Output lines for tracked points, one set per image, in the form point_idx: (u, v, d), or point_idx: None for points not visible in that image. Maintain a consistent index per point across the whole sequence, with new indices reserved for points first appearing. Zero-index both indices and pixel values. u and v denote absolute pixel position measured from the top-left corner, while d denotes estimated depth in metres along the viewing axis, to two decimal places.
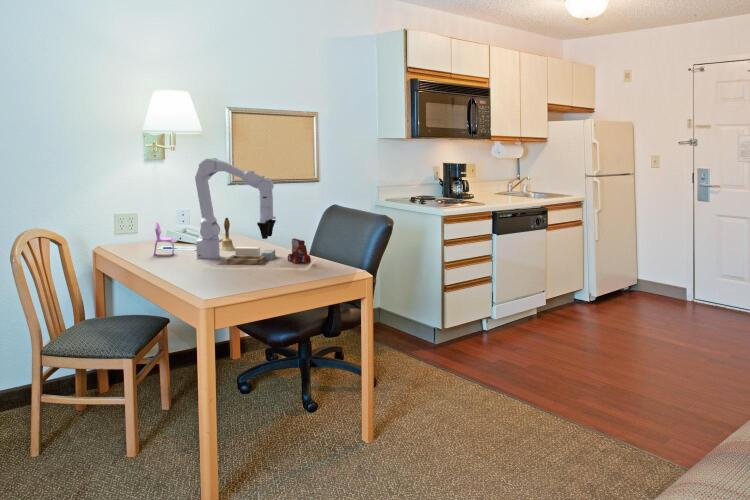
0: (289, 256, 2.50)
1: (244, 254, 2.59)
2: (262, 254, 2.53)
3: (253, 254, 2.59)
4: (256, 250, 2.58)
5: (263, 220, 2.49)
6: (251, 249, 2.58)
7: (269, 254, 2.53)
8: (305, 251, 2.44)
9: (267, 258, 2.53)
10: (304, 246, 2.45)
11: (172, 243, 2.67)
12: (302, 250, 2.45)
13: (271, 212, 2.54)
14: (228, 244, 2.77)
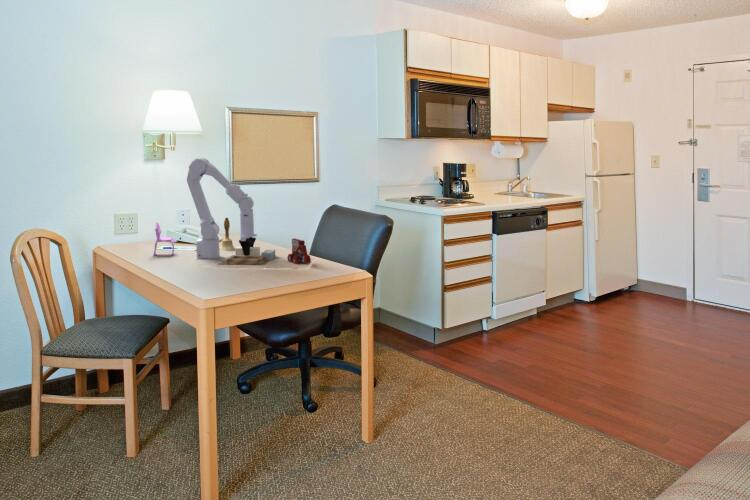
0: (289, 256, 2.50)
1: None
2: (262, 254, 2.53)
3: (253, 254, 2.59)
4: (256, 250, 2.58)
5: (243, 238, 2.52)
6: (251, 249, 2.58)
7: (269, 254, 2.53)
8: (305, 251, 2.44)
9: (267, 258, 2.53)
10: (304, 246, 2.45)
11: (172, 243, 2.67)
12: (302, 250, 2.45)
13: (252, 230, 2.58)
14: (228, 244, 2.77)
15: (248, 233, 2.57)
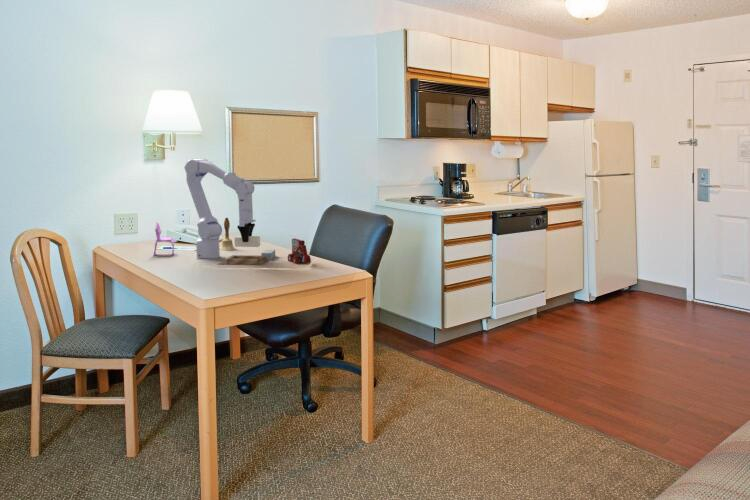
0: (289, 256, 2.50)
1: (244, 243, 2.50)
2: (262, 254, 2.53)
3: (253, 243, 2.50)
4: (256, 239, 2.50)
5: (242, 223, 2.43)
6: (251, 238, 2.50)
7: (269, 254, 2.53)
8: (305, 251, 2.44)
9: (267, 258, 2.53)
10: (304, 246, 2.45)
11: (172, 243, 2.67)
12: (302, 250, 2.45)
13: (251, 215, 2.49)
14: (228, 244, 2.77)
15: (247, 218, 2.48)
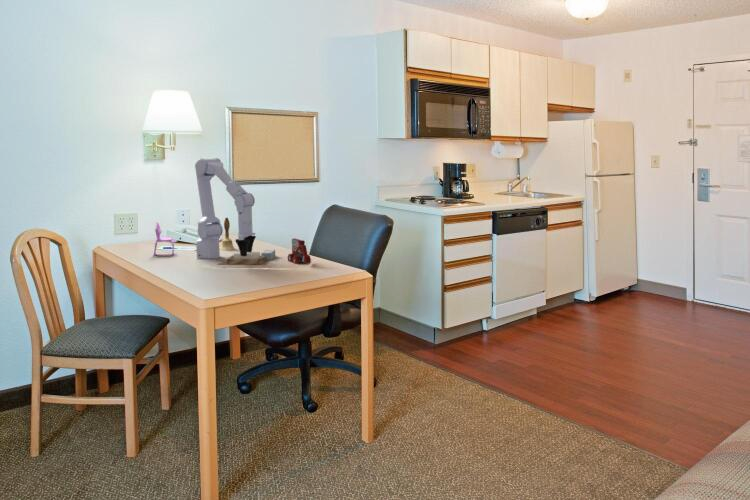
0: (289, 256, 2.50)
1: None
2: (262, 254, 2.53)
3: None
4: (256, 255, 2.45)
5: (241, 237, 2.39)
6: (250, 254, 2.45)
7: (269, 254, 2.53)
8: (305, 251, 2.44)
9: (267, 258, 2.53)
10: (304, 246, 2.45)
11: (172, 243, 2.67)
12: (302, 250, 2.45)
13: (250, 228, 2.44)
14: (228, 244, 2.77)
15: (246, 232, 2.43)
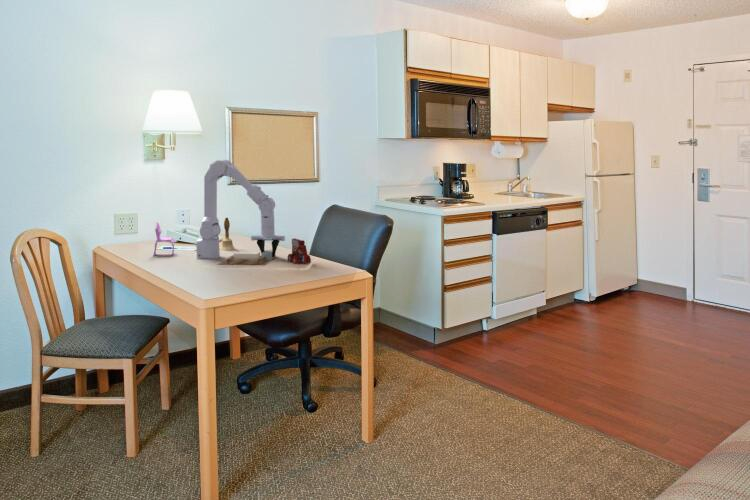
0: (289, 256, 2.50)
1: None
2: (262, 254, 2.53)
3: None
4: (256, 255, 2.45)
5: None
6: (250, 254, 2.45)
7: (269, 254, 2.53)
8: (305, 251, 2.44)
9: (267, 258, 2.53)
10: (304, 246, 2.45)
11: (172, 243, 2.67)
12: (302, 250, 2.45)
13: (263, 232, 2.53)
14: (228, 244, 2.77)
15: (261, 234, 2.55)
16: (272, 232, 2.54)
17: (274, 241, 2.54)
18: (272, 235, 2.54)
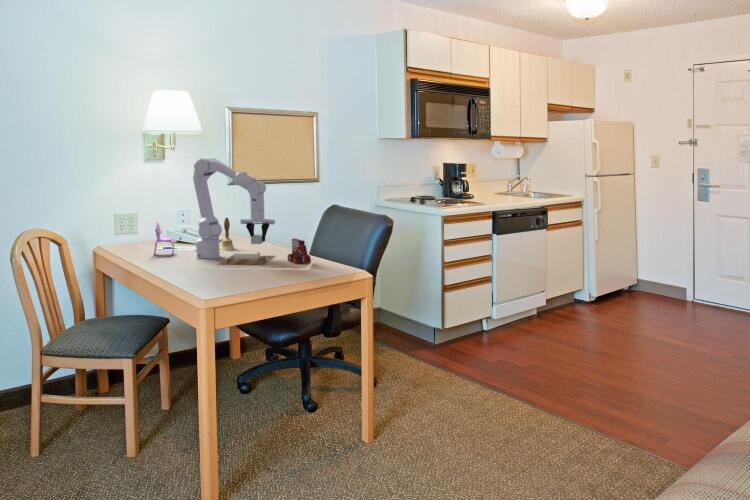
0: (289, 256, 2.50)
1: None
2: (252, 238, 2.47)
3: None
4: (256, 255, 2.45)
5: None
6: (250, 254, 2.45)
7: (259, 238, 2.47)
8: (305, 251, 2.44)
9: (257, 242, 2.48)
10: (304, 246, 2.45)
11: (172, 243, 2.67)
12: (302, 250, 2.45)
13: (253, 215, 2.48)
14: (228, 244, 2.77)
15: (251, 218, 2.49)
16: (262, 215, 2.49)
17: (264, 225, 2.49)
18: (262, 218, 2.49)
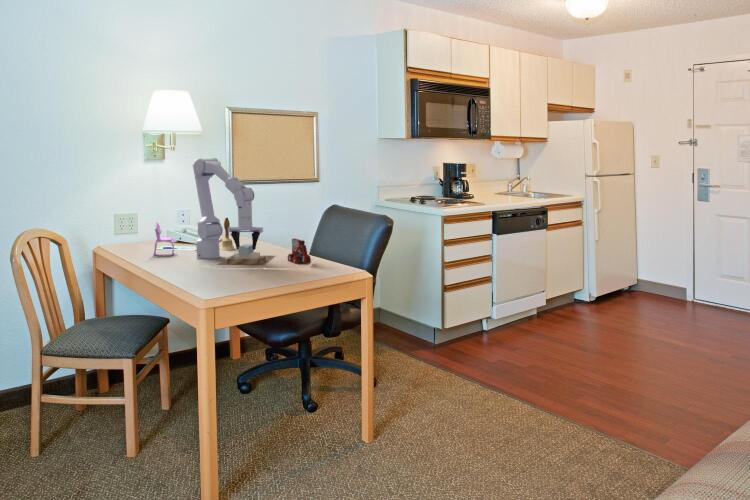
0: (289, 256, 2.50)
1: None
2: (239, 249, 2.43)
3: None
4: (256, 255, 2.45)
5: None
6: (250, 254, 2.45)
7: (246, 249, 2.42)
8: (305, 251, 2.44)
9: (244, 253, 2.43)
10: (304, 246, 2.45)
11: (172, 243, 2.67)
12: (302, 250, 2.45)
13: (240, 223, 2.43)
14: (228, 244, 2.77)
15: (238, 226, 2.44)
16: (249, 223, 2.44)
17: (252, 233, 2.44)
18: (250, 226, 2.44)
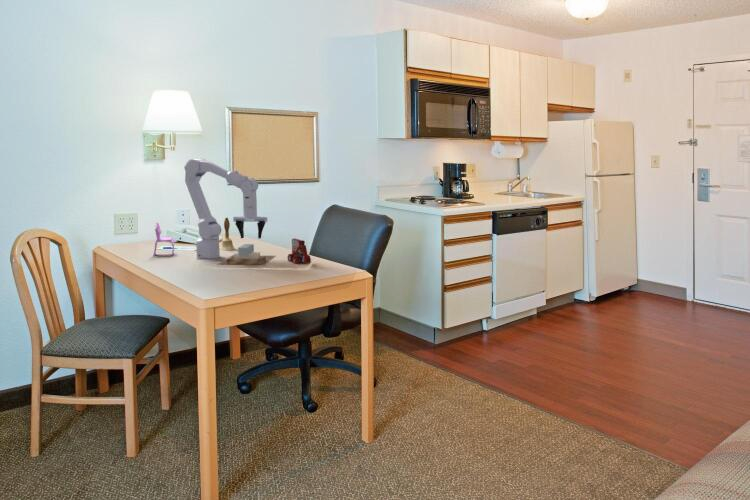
0: (289, 256, 2.50)
1: None
2: (239, 249, 2.43)
3: None
4: (256, 255, 2.45)
5: None
6: (250, 254, 2.45)
7: (246, 249, 2.42)
8: (305, 251, 2.44)
9: (244, 253, 2.43)
10: (304, 246, 2.45)
11: (172, 243, 2.67)
12: (302, 250, 2.45)
13: (245, 213, 2.50)
14: (228, 244, 2.77)
15: None
16: (254, 213, 2.51)
17: None
18: (254, 216, 2.51)
